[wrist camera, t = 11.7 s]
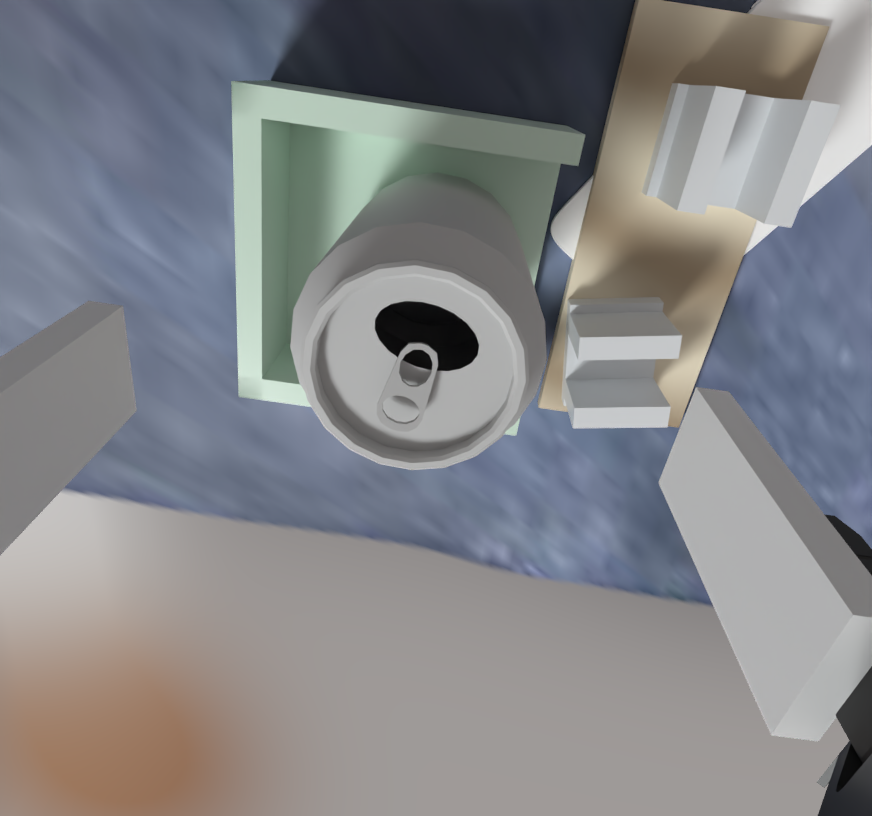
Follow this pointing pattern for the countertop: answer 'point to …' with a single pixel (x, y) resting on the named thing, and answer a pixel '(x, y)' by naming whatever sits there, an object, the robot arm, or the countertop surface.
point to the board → (649, 216)
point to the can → (421, 326)
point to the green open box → (357, 193)
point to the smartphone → (830, 83)
